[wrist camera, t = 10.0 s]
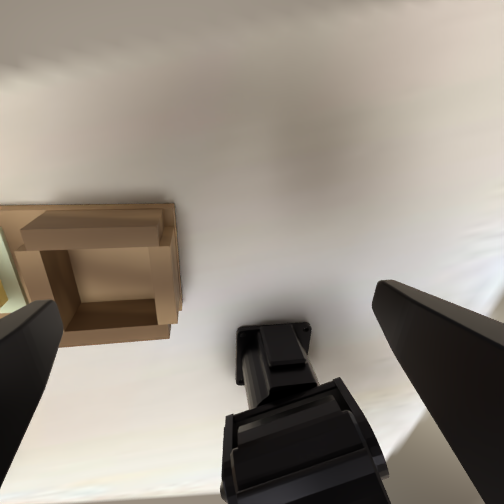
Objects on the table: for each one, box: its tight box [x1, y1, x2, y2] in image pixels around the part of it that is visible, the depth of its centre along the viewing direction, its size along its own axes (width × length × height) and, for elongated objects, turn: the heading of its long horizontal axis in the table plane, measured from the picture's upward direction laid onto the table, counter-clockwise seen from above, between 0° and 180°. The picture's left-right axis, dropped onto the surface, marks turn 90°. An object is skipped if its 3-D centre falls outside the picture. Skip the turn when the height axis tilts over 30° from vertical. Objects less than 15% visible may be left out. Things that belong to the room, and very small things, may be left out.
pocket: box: [14, 209, 180, 348], centre depth 19 cm, size 8×8×3 cm
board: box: [0, 203, 182, 319], centre depth 20 cm, size 8×17×1 cm, turn 88°
